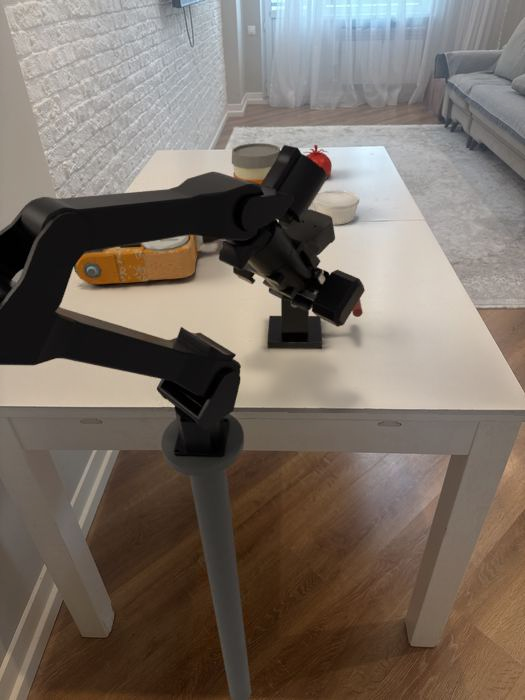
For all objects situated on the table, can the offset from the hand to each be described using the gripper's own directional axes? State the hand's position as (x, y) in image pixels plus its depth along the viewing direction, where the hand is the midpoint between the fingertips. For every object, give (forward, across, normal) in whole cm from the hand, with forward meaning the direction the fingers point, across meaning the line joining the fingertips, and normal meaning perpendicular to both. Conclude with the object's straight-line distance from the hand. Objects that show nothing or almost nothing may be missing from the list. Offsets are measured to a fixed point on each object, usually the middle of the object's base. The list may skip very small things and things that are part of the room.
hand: (316, 303), depth 72 cm
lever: (+8, +3, -2) cm, 8 cm away
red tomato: (+54, +56, -46) cm, 91 cm away
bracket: (+10, +6, +4) cm, 13 cm away
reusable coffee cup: (+36, +52, -24) cm, 67 cm away
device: (+12, +47, +4) cm, 49 cm away
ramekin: (+40, +32, -30) cm, 59 cm away
